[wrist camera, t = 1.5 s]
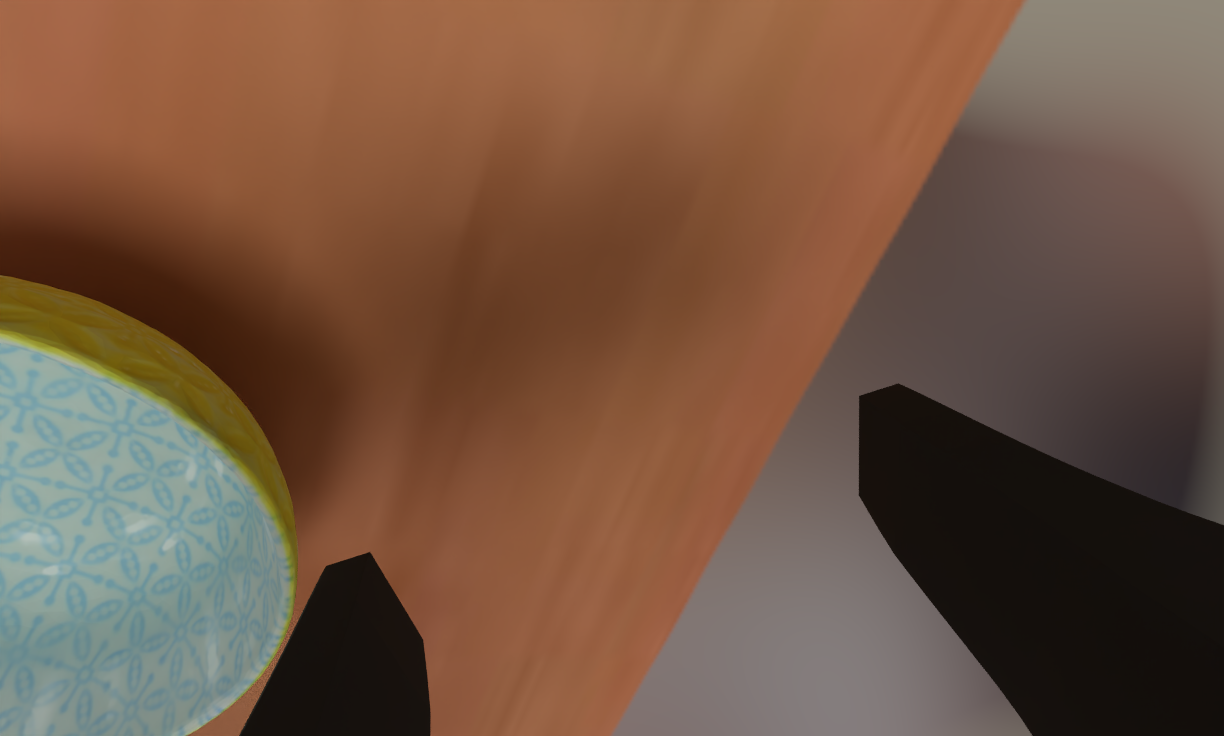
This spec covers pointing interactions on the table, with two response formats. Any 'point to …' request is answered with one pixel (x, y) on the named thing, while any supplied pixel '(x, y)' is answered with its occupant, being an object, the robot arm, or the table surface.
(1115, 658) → the robot arm
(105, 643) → the bowl
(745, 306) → the table surface
